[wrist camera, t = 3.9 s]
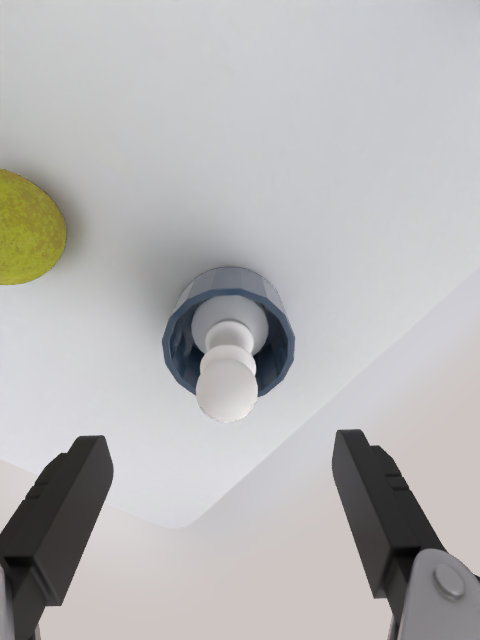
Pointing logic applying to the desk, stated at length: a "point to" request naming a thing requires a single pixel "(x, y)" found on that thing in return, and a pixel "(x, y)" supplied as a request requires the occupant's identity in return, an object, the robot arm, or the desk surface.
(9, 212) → the fruit
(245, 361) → the chess pawn
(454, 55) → the desk surface
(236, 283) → the cup
